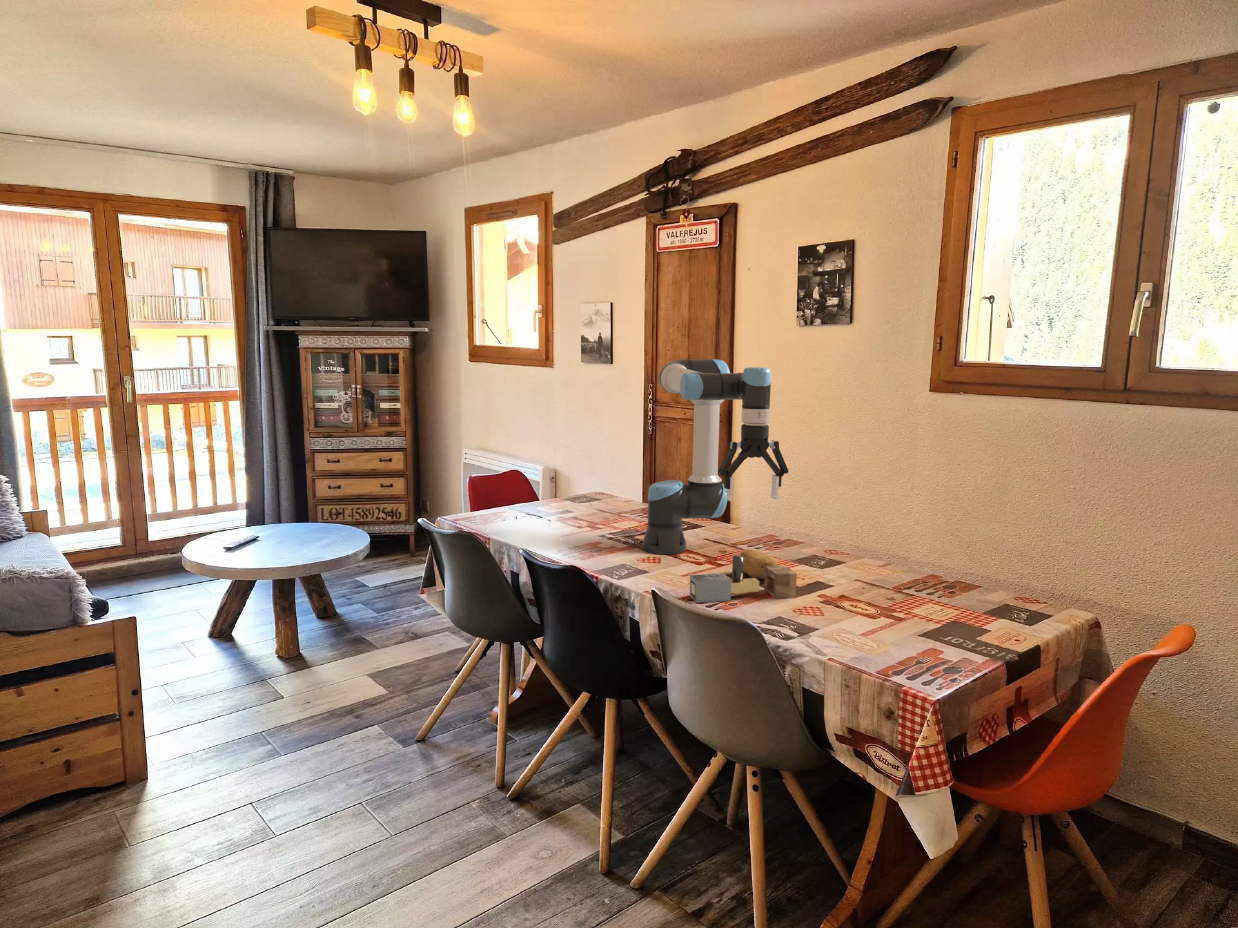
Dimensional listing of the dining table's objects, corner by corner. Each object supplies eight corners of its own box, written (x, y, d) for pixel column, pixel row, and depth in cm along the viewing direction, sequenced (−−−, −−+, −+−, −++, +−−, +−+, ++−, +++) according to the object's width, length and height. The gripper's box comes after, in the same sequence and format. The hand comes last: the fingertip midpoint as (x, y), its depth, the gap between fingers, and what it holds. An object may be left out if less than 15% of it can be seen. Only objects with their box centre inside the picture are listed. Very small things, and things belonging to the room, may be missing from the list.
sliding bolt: (691, 592, 216) (692, 557, 214) (754, 588, 220) (756, 554, 218) (694, 595, 213) (695, 560, 211) (759, 591, 217) (760, 557, 215)
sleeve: (689, 595, 217) (689, 575, 216) (722, 593, 220) (723, 573, 219) (696, 602, 212) (696, 581, 211) (730, 600, 214) (731, 579, 213)
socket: (764, 589, 224) (765, 566, 222) (783, 588, 225) (784, 565, 224) (775, 598, 216) (776, 574, 215) (795, 597, 217) (796, 573, 216)
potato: (762, 586, 226) (763, 560, 225) (731, 574, 238) (732, 549, 237) (786, 581, 231) (788, 555, 230) (754, 569, 243) (755, 544, 242)
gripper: (717, 426, 206) (715, 504, 209) (802, 424, 212) (799, 500, 216) (707, 423, 213) (705, 498, 217) (790, 421, 219) (786, 495, 223)
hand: (752, 499), depth 216 cm, fingers open, 13 cm apart
